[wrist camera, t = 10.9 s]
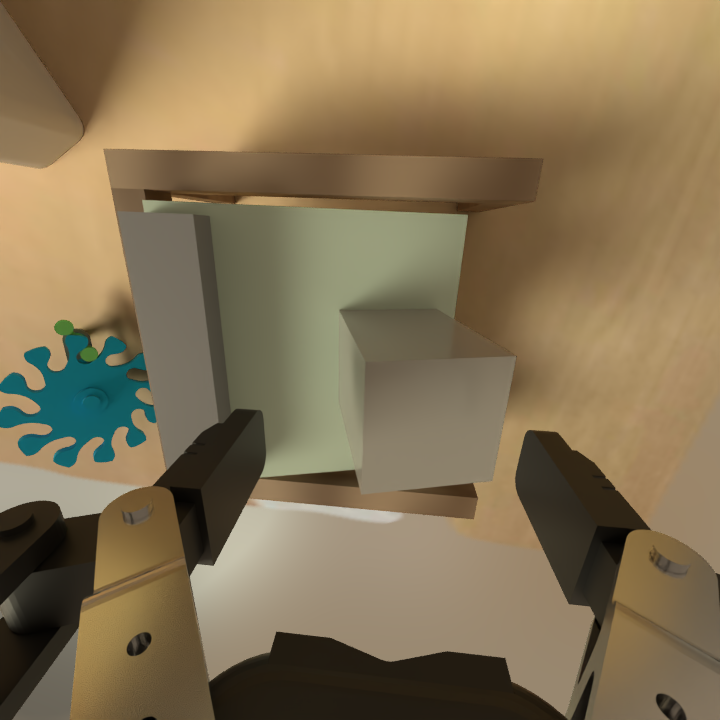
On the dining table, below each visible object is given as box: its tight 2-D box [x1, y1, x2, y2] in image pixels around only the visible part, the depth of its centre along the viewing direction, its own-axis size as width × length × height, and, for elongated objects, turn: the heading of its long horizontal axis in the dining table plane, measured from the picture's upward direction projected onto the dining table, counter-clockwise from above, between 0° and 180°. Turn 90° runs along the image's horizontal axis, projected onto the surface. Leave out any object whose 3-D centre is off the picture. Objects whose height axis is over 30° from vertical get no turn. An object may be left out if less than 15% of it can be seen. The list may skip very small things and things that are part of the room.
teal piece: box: [0, 320, 157, 467], centre depth 28 cm, size 11×6×10 cm
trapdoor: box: [117, 200, 468, 478], centre depth 17 cm, size 14×14×4 cm
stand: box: [104, 149, 543, 519], centre depth 22 cm, size 18×18×10 cm
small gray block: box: [339, 309, 517, 495], centre depth 15 cm, size 5×5×7 cm
